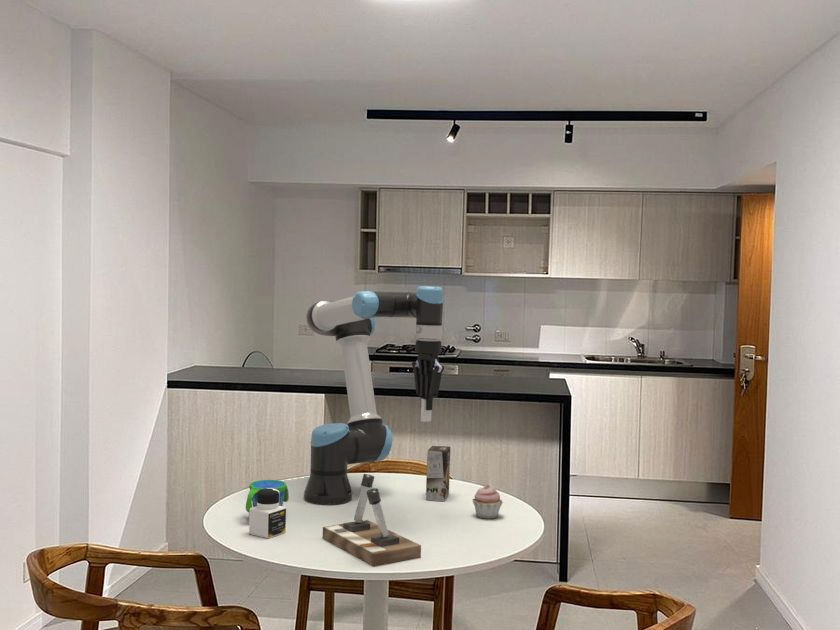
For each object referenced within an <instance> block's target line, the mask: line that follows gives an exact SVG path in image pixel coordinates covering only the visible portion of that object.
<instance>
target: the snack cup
mask: <svg viewBox="0 0 840 630" xmlns="http://www.w3.org/2000/svg"><path fill="white" fill-rule="evenodd" d="M287 485H288V484H287V483H286V482H285V481H282V480H278V479H260V480H255V481H252V482H251V483H249V485H248V487H249V491H248V494H247V497H246V502H245V511H246V512H247V513H249V514H250V508H252V507H256V506H258V505H257V492H258V491H259V490H261V489H265V488H273V489H276V490H278V491H279V492H280V497H279V505H278V506H283V507H284V503H287V502H288V501H289V499H290V498H289V497H290V496H289V489H288V486H287Z"/></svg>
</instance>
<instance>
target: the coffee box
mask: <svg viewBox="0 0 840 630" xmlns="http://www.w3.org/2000/svg"><path fill="white" fill-rule="evenodd" d="M426 455H427V456H426V477H425V478H426V480H425V483H426V484H425V501H435V502H436V501H437V502H445V501H446V499H447V498H448V497H449V495H450V475H451V474H450V473H451V446H443V445H441V446H440V445H431V447H429V448H428V449H427V453H426Z"/></svg>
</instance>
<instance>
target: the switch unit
mask: <svg viewBox="0 0 840 630" xmlns="http://www.w3.org/2000/svg"><path fill="white" fill-rule="evenodd" d="M387 530H388V533H389V535H387V536H386V537H382V536H380V533H379V529H378V526H377V523H375V522H372V521H371V520H369V519H365V520H364V519H362V522H356V521H354V520H353V521H350V522H343V523H339V524H333V525H327V526H323V527H322V539H323V538H324V540H325V541H327V542H329V543H331V544H332V543H333V544H332V545H334V546H336V547H338V548H339V549H341V550H344V551H345V552H347V553H348V554H350V553H351V554H350V555H352V556H354V557H356V558H358V559H359V560H361V559H362V561H363V560H364V561H363V562H366V563H367V564H369V565H370V564H371V565H370V566H371V567H372V566H373V567H376V566H382V565H388V564H392V563H398V562H402V561H409V560H412V559H417V558H421V557H422V545H421V544H419V543H417V542H414V541H413V540H410V539H408V538H406V537H404V536H402V535H400V534H398V533H396V532H394V531H391V530H389V529H387Z"/></svg>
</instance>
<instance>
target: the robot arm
mask: <svg viewBox="0 0 840 630" xmlns="http://www.w3.org/2000/svg"><path fill="white" fill-rule="evenodd" d="M443 293H444V292H443V288H442V287H440V286H429V285H428V286H425V285H422V286H421V285H420V286H418V287H417V292H414V291H412V292H411V291H372V290H364V291H363V290H362V291H357V292H356V293H355V294H354V295H353V296H350V297H346V298H343V299H339V300H323V301H318V302H317V301H316V302H315V303H313V304H312V305H311V306H309V308H308V310H307V312H306V316H305V317H306V319H305V320H306V323H307V326H308V327H309V329H310V330H311V331H312V332H314V333H316V334H318V335H320V336H324V337H325V336H326V337H329V336H330V337H335V343H336V344H337V346H339V347H340V348H341V353H342V361H343V369H344V377H345V384H346V385H345V386H346V391H347V392H346V393H347V399H348V400H347V401H348V406H349V407H348V408H349V414H350V417H349V419H348V421H347V422H346V423H344V422H341V423H340V422H337V423H335V422H333V423H326V424H321V425H319V426H316V427H315V428H313V430H312V432H311V437H310V438H311V439H310V474H309V477H308V480H307V483H306V486H305V488H304V491H303V499H304V501H305V502H308V503H311V504H317V505H327V506H328V505H330V506H331V505H340V504H346V503H349V502H351V501H352V500H353V490H352V487H351V484H350V479H349V477H348V465H354V464H365V463H375V462H380V461H381V462H382V461H383V460H385V459H386V458H387V457H388V456H389V454H390V452H391V450H392V445H393V434H392V431H391V429H390V427H389V426H388V425H386V424H384V422H383V418H382V417H381V416H380V415H378V413H377V406H376V405H377V404H376V398H375V392H374V384H373V379H372V378H373V377H372V372H371V371H372V370H371V364H370V357H369V349H368V344H369V343H368V342H369V341H370V340H371V339H372V338H371V336H372V334H373V333H374V331H375V329H376V328H375V326H376V318H414V319H416V320H415V321H416V323H415V325H416V326H415V328H416V329H415V330H416V332H415V338H416V340H415V342H414V343H415V347H414V352H415V353H417V354H418V355H417V360H416V361H412V362H411V366H412V368H413V375H414V376H413V377H414V383H415V384H414V386H415V395H417V396H419V398H420V422H423V423H426V422H432V410H433V399H435V398H438V396H439V391H440V385H441V380H442V375H443V372H444V369H445V365H441V364H440V359H439V355H440V354H441V353H442V341H441V339H443V311H444V310H443V309H444V298H443V296H444V294H443Z"/></svg>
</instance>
